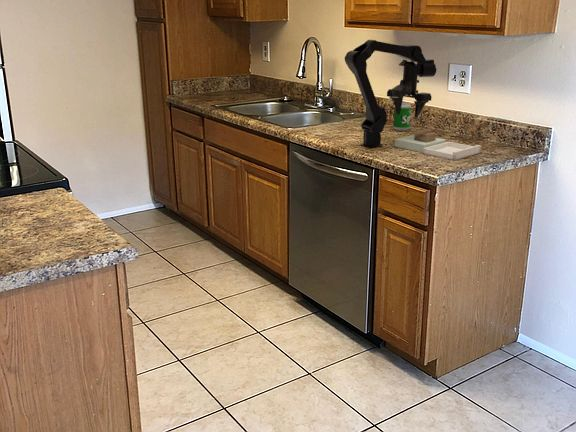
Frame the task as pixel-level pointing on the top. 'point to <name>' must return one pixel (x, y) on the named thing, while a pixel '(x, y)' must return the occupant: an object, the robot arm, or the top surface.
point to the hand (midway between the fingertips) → (407, 116)
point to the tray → (451, 150)
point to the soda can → (402, 117)
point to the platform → (415, 143)
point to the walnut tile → (425, 136)
